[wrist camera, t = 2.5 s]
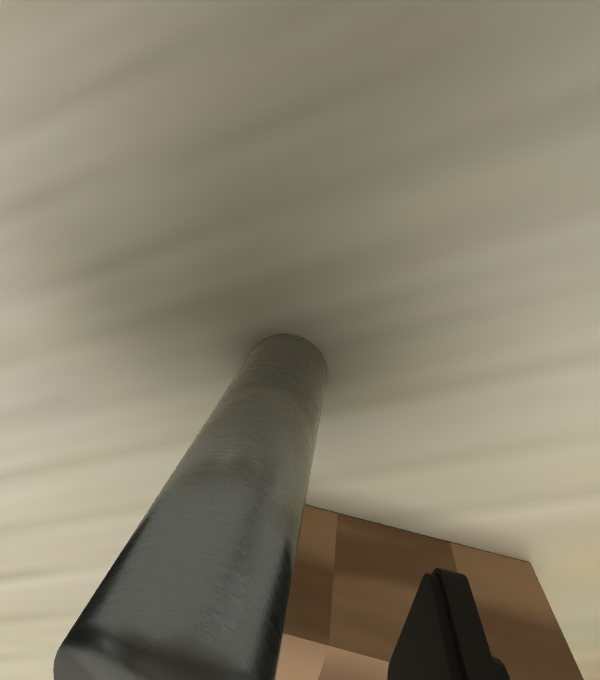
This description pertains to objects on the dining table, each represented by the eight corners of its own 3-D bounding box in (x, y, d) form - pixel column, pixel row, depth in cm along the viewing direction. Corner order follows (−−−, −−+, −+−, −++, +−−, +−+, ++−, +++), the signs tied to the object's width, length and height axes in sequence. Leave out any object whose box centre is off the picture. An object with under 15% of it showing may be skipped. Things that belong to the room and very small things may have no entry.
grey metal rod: (254, 325, 17) (54, 589, 6) (335, 344, 17) (287, 654, 6) (241, 398, 18) (51, 737, 7) (316, 417, 18) (248, 794, 7)
